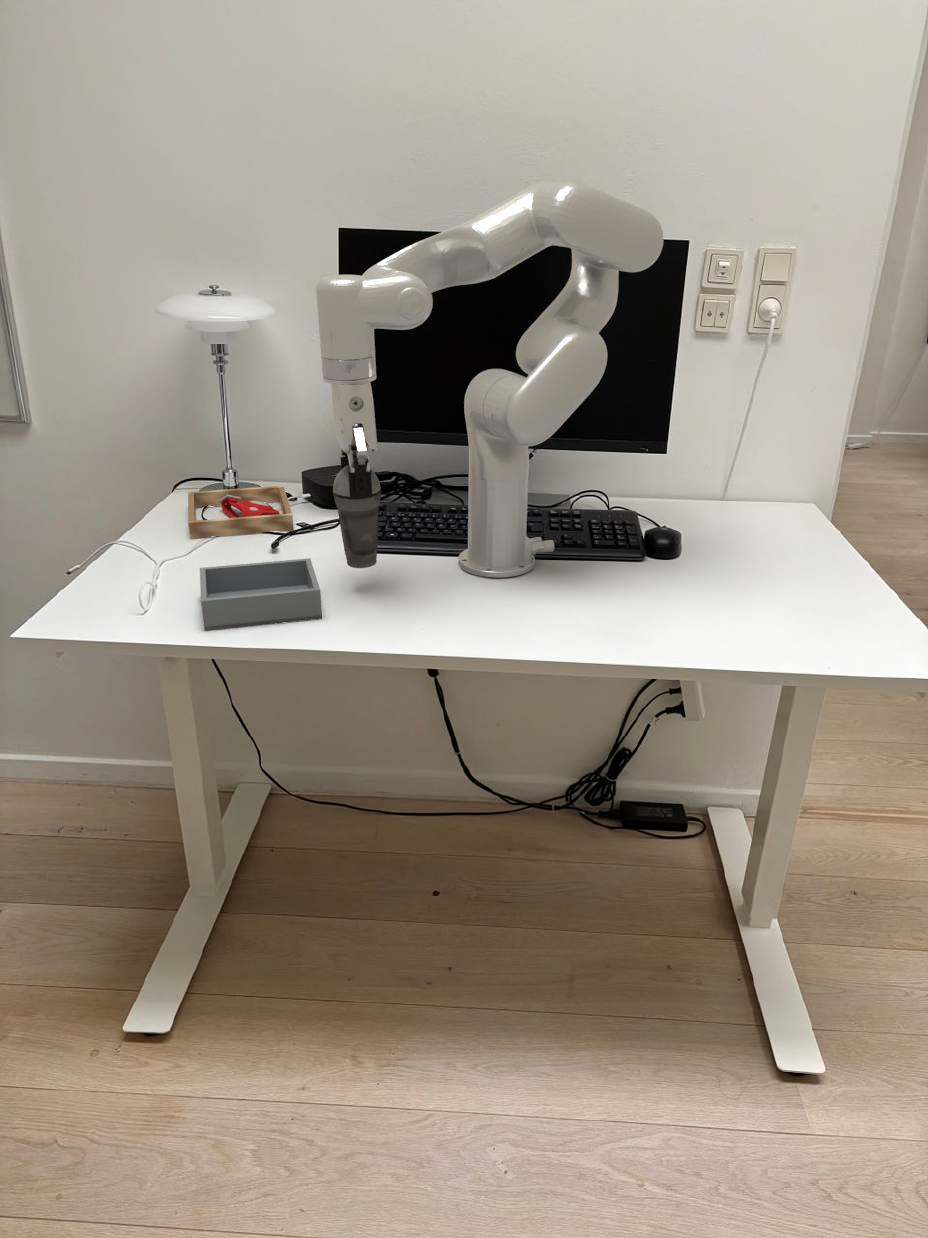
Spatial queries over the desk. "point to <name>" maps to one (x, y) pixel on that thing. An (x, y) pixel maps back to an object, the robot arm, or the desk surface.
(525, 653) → the desk surface
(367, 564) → the beverage cup
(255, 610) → the charcoal tray
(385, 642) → the desk surface
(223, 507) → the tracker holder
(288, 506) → the oak organiser frame
